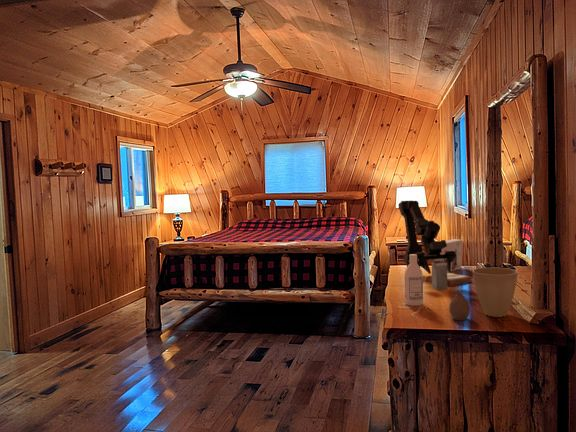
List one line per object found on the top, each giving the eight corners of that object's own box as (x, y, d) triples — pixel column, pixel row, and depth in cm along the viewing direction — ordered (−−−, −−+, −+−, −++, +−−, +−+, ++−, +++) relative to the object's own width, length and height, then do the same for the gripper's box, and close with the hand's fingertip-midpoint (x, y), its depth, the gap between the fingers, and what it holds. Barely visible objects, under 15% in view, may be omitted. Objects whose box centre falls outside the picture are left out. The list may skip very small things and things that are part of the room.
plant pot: (519, 311, 175) (519, 268, 173) (516, 322, 162) (515, 276, 161) (476, 307, 182) (476, 266, 181) (469, 317, 169) (469, 273, 168)
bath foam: (427, 304, 188) (426, 254, 187) (413, 307, 185) (412, 256, 184) (415, 301, 195) (414, 252, 193) (401, 303, 192) (400, 254, 190)
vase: (446, 316, 172) (445, 292, 171) (464, 315, 172) (464, 291, 172) (454, 322, 165) (454, 297, 164) (473, 321, 165) (473, 296, 165)
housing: (432, 287, 217) (431, 261, 216) (442, 286, 217) (442, 261, 216) (436, 290, 212) (436, 263, 211) (447, 289, 212) (447, 262, 211)
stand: (427, 281, 230) (427, 275, 230) (447, 277, 237) (447, 271, 237) (450, 286, 218) (450, 280, 218) (470, 281, 225) (470, 276, 225)
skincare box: (442, 274, 245) (442, 243, 244) (433, 273, 249) (432, 243, 248) (462, 268, 259) (462, 239, 258) (453, 267, 263) (453, 238, 262)
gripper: (414, 235, 217) (424, 263, 206) (454, 233, 218) (465, 260, 208) (409, 250, 225) (418, 277, 215) (447, 248, 227) (457, 275, 217)
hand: (440, 272), depth 213 cm, fingers open, 9 cm apart
